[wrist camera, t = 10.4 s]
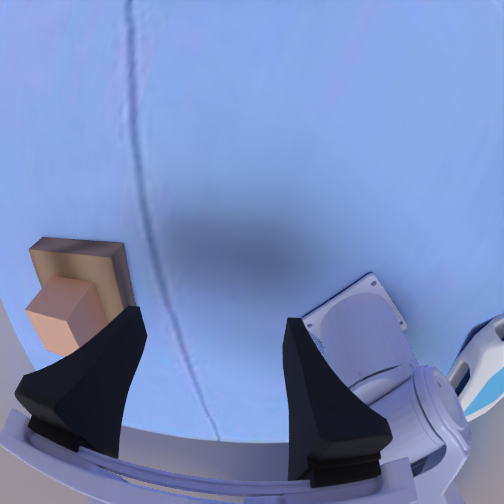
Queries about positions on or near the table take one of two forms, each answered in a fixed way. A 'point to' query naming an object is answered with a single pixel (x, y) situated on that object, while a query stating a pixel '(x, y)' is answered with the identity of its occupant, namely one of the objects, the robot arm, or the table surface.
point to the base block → (87, 268)
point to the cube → (66, 314)
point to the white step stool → (481, 370)
